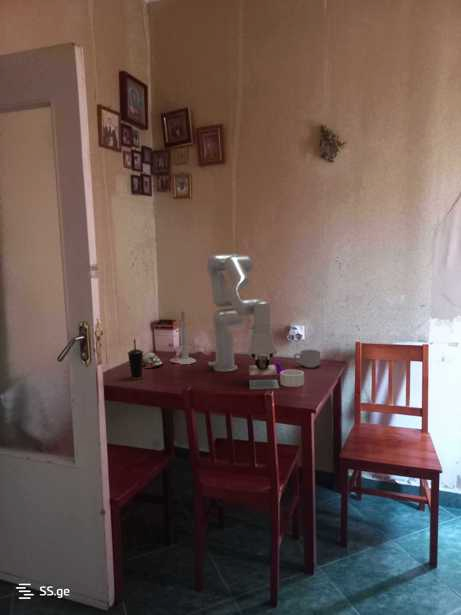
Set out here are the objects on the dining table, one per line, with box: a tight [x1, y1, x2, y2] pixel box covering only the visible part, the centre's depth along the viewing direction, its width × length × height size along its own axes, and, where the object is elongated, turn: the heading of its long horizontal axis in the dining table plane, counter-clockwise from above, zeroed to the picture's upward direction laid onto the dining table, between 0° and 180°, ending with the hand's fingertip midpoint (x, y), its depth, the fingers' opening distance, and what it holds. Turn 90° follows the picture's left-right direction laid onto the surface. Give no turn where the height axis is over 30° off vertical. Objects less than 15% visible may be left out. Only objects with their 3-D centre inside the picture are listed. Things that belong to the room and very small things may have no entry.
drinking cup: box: [127, 339, 144, 379], centre depth 231 cm, size 8×8×20 cm
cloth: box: [272, 362, 293, 377], centre depth 231 cm, size 22×19×6 cm
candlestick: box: [176, 310, 197, 364], centre depth 258 cm, size 13×13×30 cm
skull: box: [142, 352, 163, 366], centre depth 255 cm, size 12×10×10 cm
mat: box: [248, 379, 280, 390], centre depth 212 cm, size 13×13×1 cm
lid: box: [248, 358, 278, 376], centre depth 211 cm, size 12×12×5 cm
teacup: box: [293, 348, 322, 369], centre depth 242 cm, size 14×11×8 cm
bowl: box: [279, 369, 305, 388], centre depth 211 cm, size 10×10×6 cm
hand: (262, 367), depth 211 cm, fingers closed on lid, 3 cm apart
